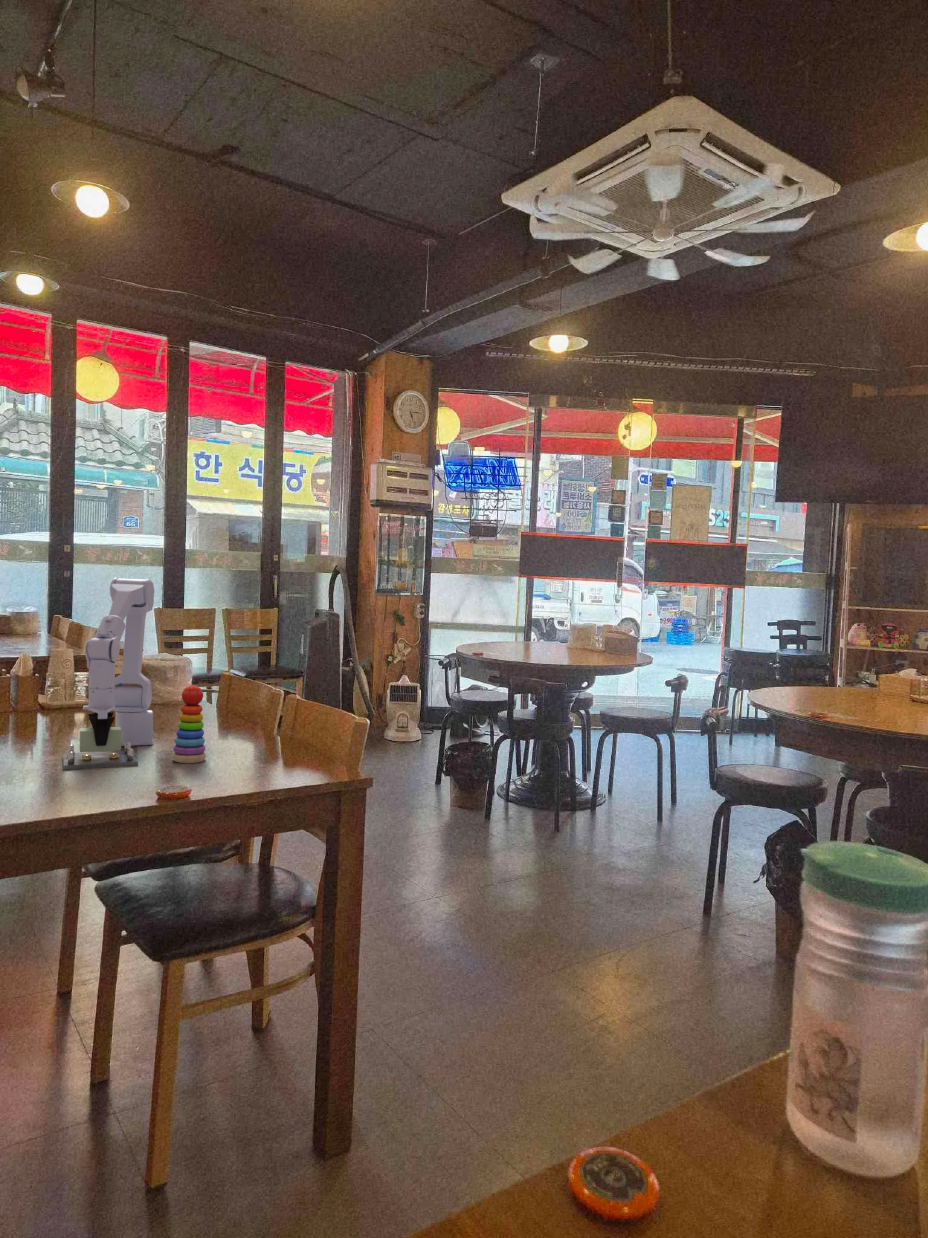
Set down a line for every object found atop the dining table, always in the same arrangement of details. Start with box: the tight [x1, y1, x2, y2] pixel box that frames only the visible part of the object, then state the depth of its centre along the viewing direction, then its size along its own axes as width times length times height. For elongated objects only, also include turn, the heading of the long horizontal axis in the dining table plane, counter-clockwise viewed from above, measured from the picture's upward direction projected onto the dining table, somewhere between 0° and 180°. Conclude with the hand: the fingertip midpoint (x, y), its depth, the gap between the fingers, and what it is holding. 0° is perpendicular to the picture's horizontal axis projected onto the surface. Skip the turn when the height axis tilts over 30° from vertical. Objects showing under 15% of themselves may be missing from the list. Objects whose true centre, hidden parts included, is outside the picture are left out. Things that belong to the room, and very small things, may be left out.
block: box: [79, 726, 122, 753], centre depth 199 cm, size 9×4×5 cm, turn 116°
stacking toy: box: [171, 684, 207, 764], centre depth 204 cm, size 8×8×19 cm
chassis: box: [62, 742, 139, 771], centre depth 199 cm, size 16×13×4 cm
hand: (100, 743), depth 199 cm, fingers closed on block, 4 cm apart
